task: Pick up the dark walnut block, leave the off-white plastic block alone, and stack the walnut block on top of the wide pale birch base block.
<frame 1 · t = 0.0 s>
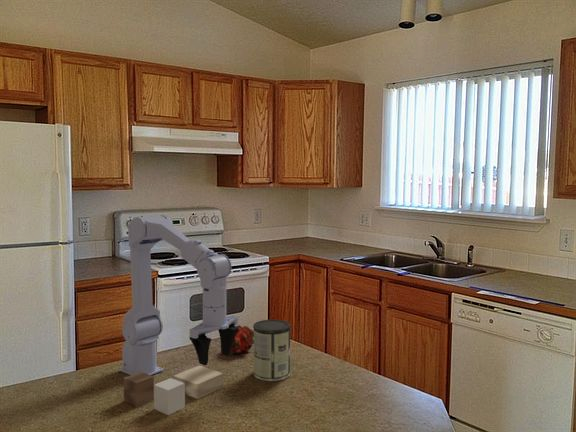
hand: (214, 359, 127), 10 cm above the countertop, tool pointing down, fingers open, 7 cm apart
birch base block: (198, 389, 134), on the countertop
dragon fruit: (240, 352, 161), on the countertop
off-white block: (169, 408, 122), on the countertop
coffee can: (271, 374, 144), on the countertop
walnut block: (139, 401, 126), on the countertop
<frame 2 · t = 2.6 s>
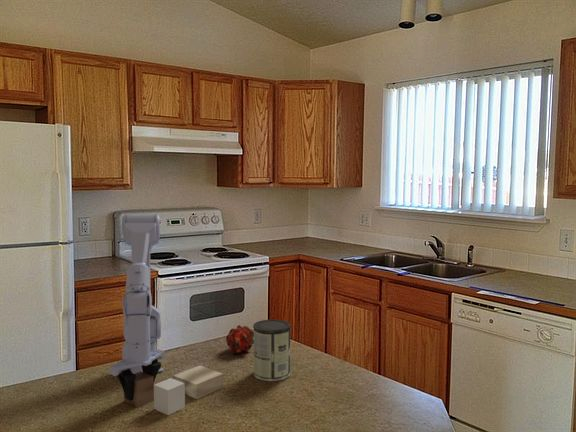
hand: (138, 395, 126), 1 cm above the countertop, tool pointing down, fingers closed on walnut block, 5 cm apart
walnut block: (139, 400, 126), on the countertop, touching gripper
everything else where it was.
when the fingers open (7 cm above the countertop, at t = 6.0 s): walnut block drops 2 cm, point 4 cm above the countertop.
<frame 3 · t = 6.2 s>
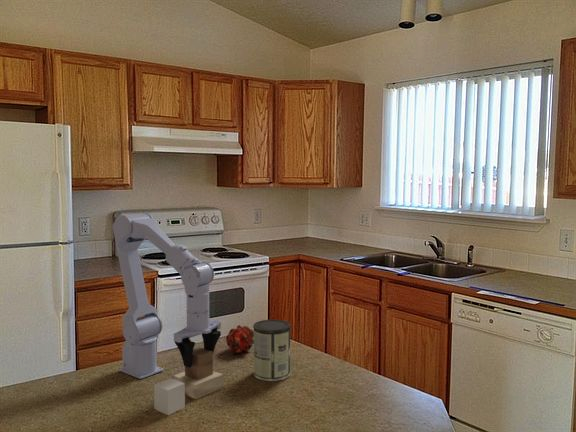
hand: (198, 362, 133), 7 cm above the countertop, tool pointing down, fingers open, 7 cm apart
walnut block: (198, 374, 134), point 4 cm above the countertop
everything else where it was.
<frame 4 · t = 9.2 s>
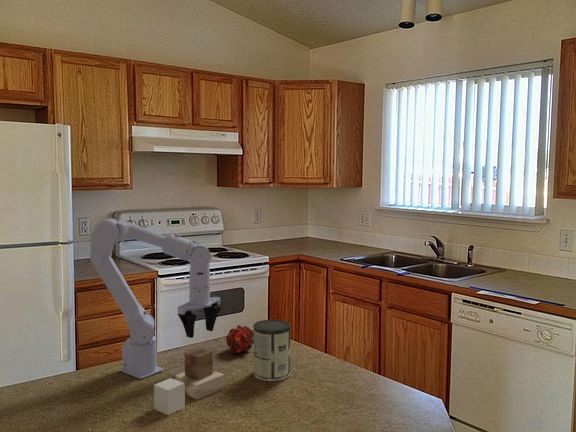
hand: (199, 333, 147), 10 cm above the countertop, tool pointing down, fingers open, 7 cm apart
birch base block: (199, 390, 134), on the countertop, touching walnut block
walnut block: (198, 374, 133), point 4 cm above the countertop, touching birch base block
everything else where it was.
at the end: walnut block 0.1 cm off-centre on the birch base block, point 4.0 cm above the birch base block's base; walnut block tilted 0°; off-white block moved 0.1 cm from its start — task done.
